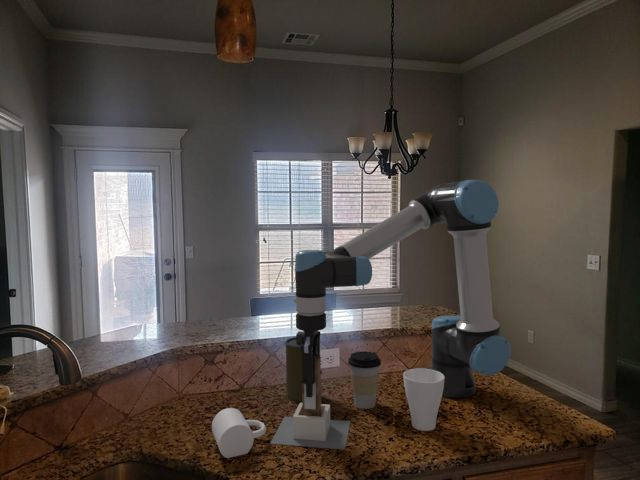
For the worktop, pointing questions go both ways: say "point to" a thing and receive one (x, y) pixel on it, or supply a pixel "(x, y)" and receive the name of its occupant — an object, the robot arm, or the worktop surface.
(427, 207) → the robot arm
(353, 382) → the coffee cup
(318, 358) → the brown wooden block
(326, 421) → the white square holder
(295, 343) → the canister
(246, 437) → the mug
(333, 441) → the mat
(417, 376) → the cup
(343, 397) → the worktop surface
